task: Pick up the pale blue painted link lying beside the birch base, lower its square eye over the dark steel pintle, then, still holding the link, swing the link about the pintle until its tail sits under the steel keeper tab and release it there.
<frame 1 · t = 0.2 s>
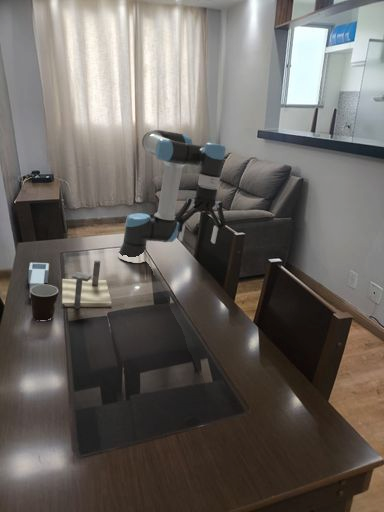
hand: (196, 241, 139), 28 cm above the table, fingers open, 13 cm apart
link: (37, 290, 137), on the table
pintle plate: (94, 288, 147), on the table
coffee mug: (45, 315, 123), on the table
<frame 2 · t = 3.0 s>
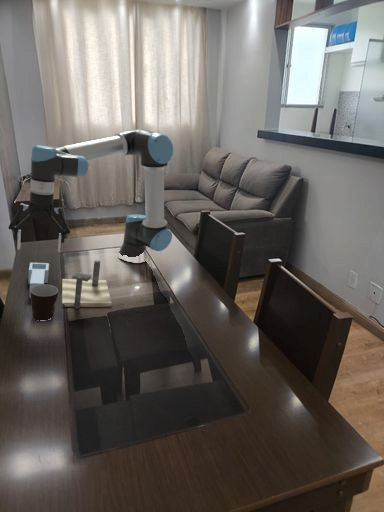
hand: (39, 249, 131), 17 cm above the table, fingers open, 13 cm apart
nothing on the table moved.
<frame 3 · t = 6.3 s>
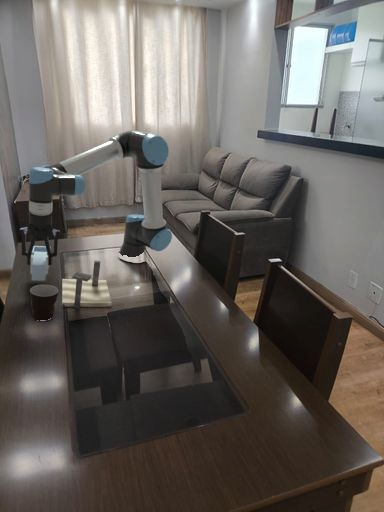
hand: (39, 272, 135), 7 cm above the table, fingers closed on link, 4 cm apart
link: (39, 273, 135), point 7 cm above the table, touching gripper
everything else where it was.
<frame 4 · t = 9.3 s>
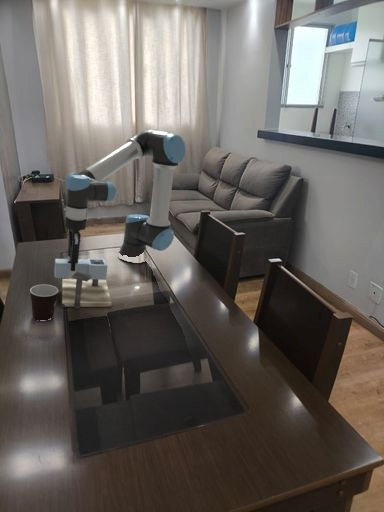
hand: (71, 274, 141), 6 cm above the table, fingers closed on link, 4 cm apart
link: (70, 275, 141), point 6 cm above the table, touching gripper
everything else where it was.
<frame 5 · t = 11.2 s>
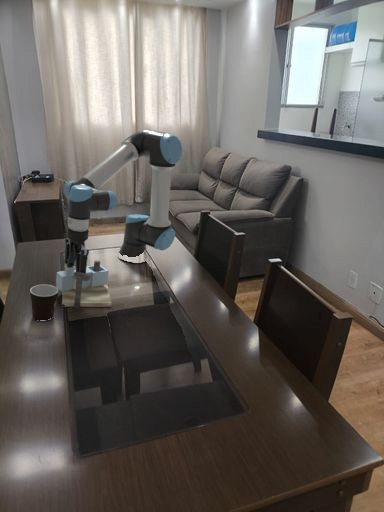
hand: (73, 285, 139), 3 cm above the table, fingers closed on link, 4 cm apart
link: (73, 286, 139), point 3 cm above the table, touching gripper
everything else where it was.
when the fingers open (3 cm above the table, at t = 12.8 s): link drops 1 cm, resting on pintle plate.
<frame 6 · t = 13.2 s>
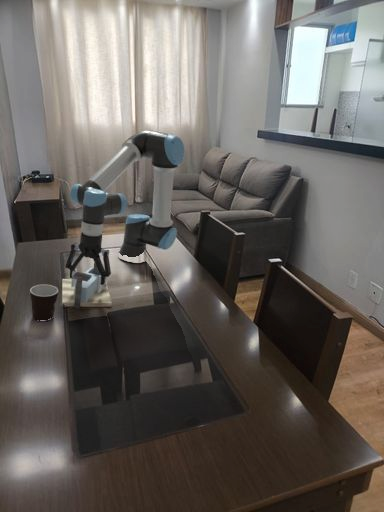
hand: (86, 288, 137), 4 cm above the table, fingers open, 9 cm apart
link: (85, 294, 138), point 1 cm above the table, touching pintle plate
everything else where it was.
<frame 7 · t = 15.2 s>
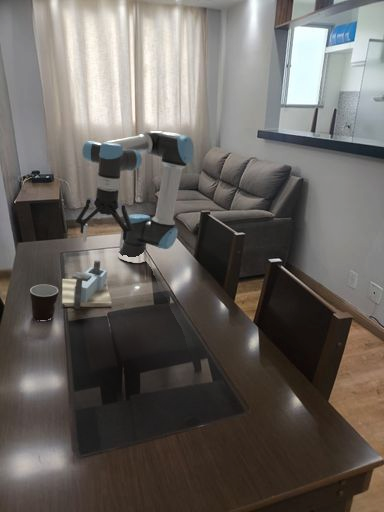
hand: (102, 244, 134), 22 cm above the table, fingers open, 13 cm apart
nothing on the table moved.
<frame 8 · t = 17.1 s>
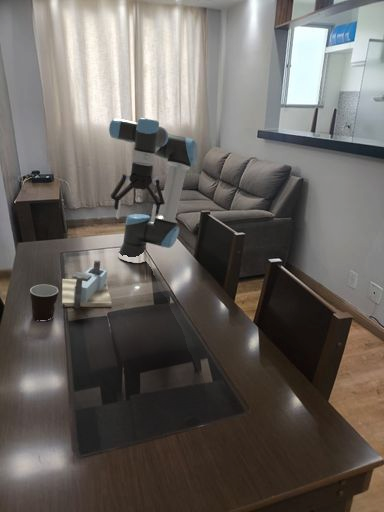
hand: (135, 219, 137), 32 cm above the table, fingers open, 13 cm apart
nothing on the table moved.
at the end: link 0.3 cm from the target spot on the pintle plate, point 1.5 cm above the pintle plate's base; link tilted 0°; link touching pintle plate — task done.
